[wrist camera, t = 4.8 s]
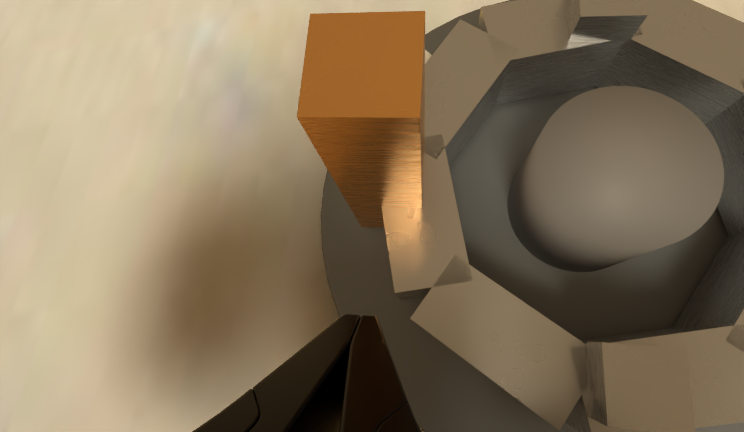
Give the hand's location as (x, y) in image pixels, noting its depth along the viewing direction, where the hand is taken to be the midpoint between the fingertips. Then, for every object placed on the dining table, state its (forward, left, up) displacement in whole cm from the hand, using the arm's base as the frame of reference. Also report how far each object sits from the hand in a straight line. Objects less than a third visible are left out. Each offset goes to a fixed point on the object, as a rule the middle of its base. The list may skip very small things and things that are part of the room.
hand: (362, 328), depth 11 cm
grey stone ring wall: (-3, -8, -5) cm, 10 cm away
